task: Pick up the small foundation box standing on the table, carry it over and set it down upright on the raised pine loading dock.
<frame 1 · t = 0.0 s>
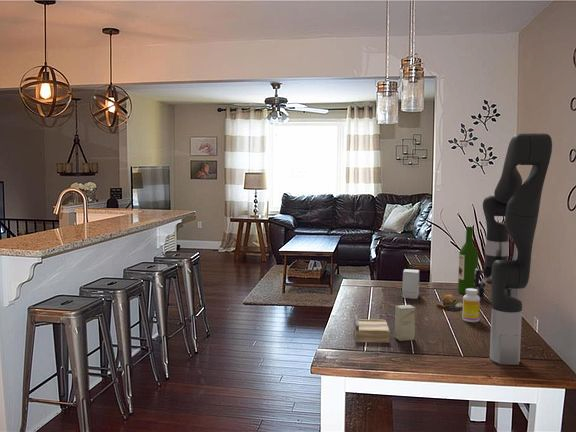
hand: (494, 298, 192), 17 cm above the table, tool pointing down, fingers open, 8 cm apart
supplement box: (410, 297, 262), on the table
supplement bottle: (470, 320, 224), on the table
burger: (450, 307, 244), on the table
dock: (371, 336, 205), on the table
wine bottle: (467, 292, 270), on the table
skincare box: (404, 339, 202), on the table
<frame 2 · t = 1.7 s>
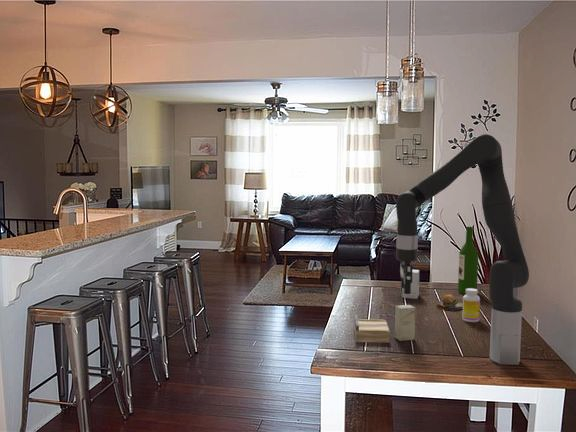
hand: (405, 290, 200), 18 cm above the table, tool pointing down, fingers open, 8 cm apart
nothing on the table moved.
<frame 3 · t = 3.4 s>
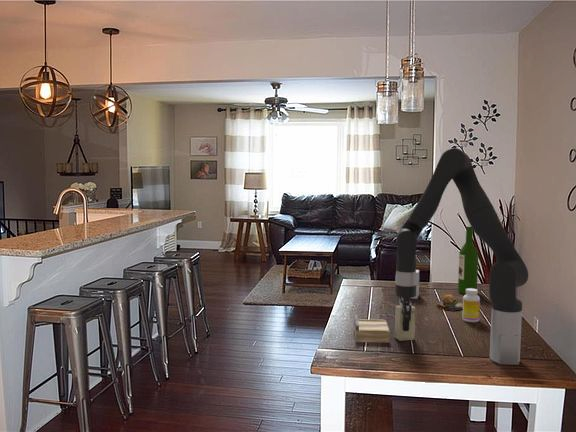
hand: (404, 328, 201), 4 cm above the table, tool pointing down, fingers closed on skincare box, 5 cm apart
skincare box: (404, 339, 202), on the table, touching gripper
everything else where it was.
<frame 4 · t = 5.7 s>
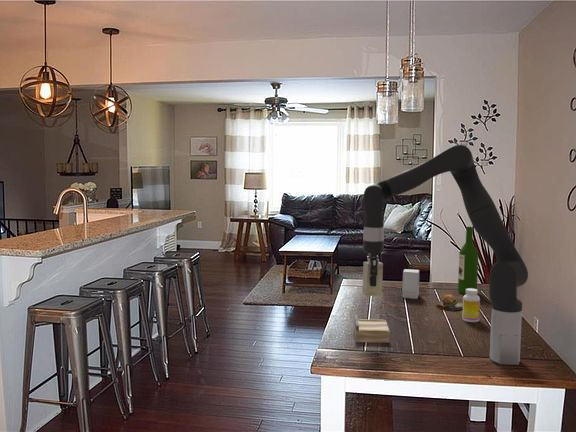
hand: (372, 284, 203), 20 cm above the table, tool pointing down, fingers closed on skincare box, 5 cm apart
skincare box: (372, 295, 203), point 16 cm above the table, touching gripper
everything else where it was.
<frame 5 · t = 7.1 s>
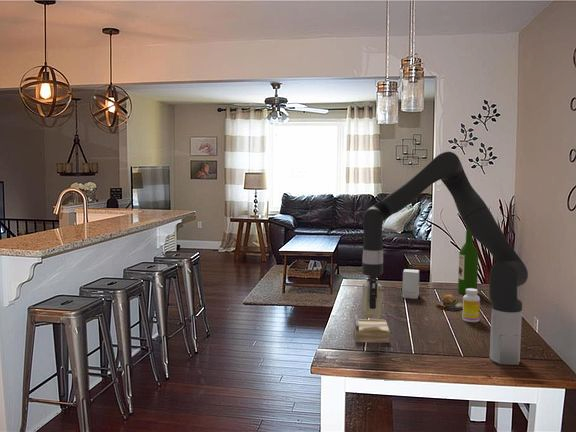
hand: (372, 306, 203), 11 cm above the table, tool pointing down, fingers closed on skincare box, 5 cm apart
skincare box: (371, 317, 204), point 7 cm above the table, touching gripper
everything else where it was.
when the fingers open (9 cm above the table, at t = 8.0 s): skincare box drops 1 cm, resting on dock.
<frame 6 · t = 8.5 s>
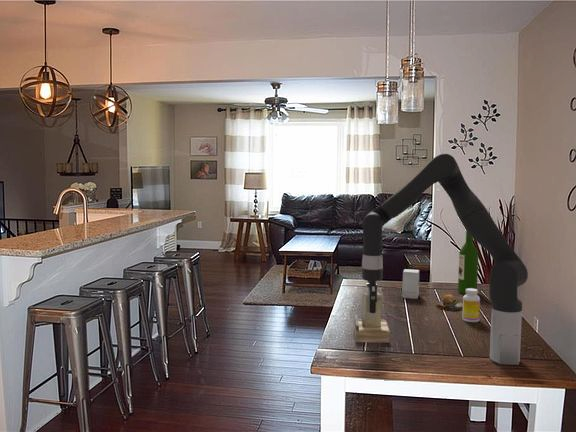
hand: (371, 309, 203), 10 cm above the table, tool pointing down, fingers open, 8 cm apart
skincare box: (371, 325, 204), point 4 cm above the table, touching dock
everything else where it was.
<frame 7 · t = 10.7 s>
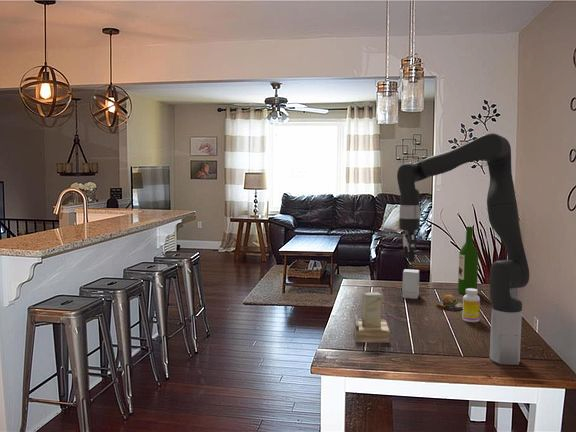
hand: (409, 259, 206), 28 cm above the table, tool pointing down, fingers open, 8 cm apart
nothing on the table moved.
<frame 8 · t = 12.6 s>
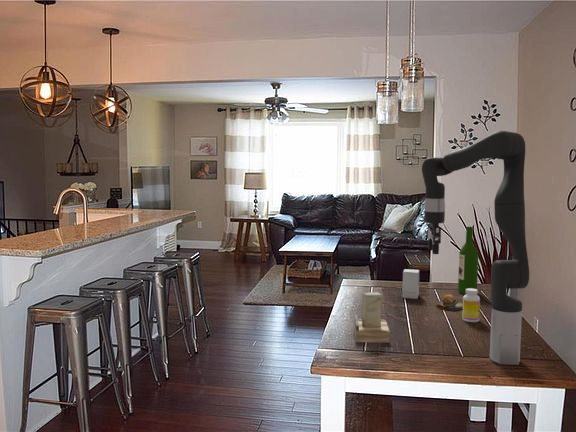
hand: (433, 252, 210), 30 cm above the table, tool pointing down, fingers open, 8 cm apart
nothing on the table moved.
at the end: skincare box inside the target area on the dock (0.2 cm from its centre), point 3.8 cm above the dock's base; skincare box tilted 0°; the gripper is holding nothing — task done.
